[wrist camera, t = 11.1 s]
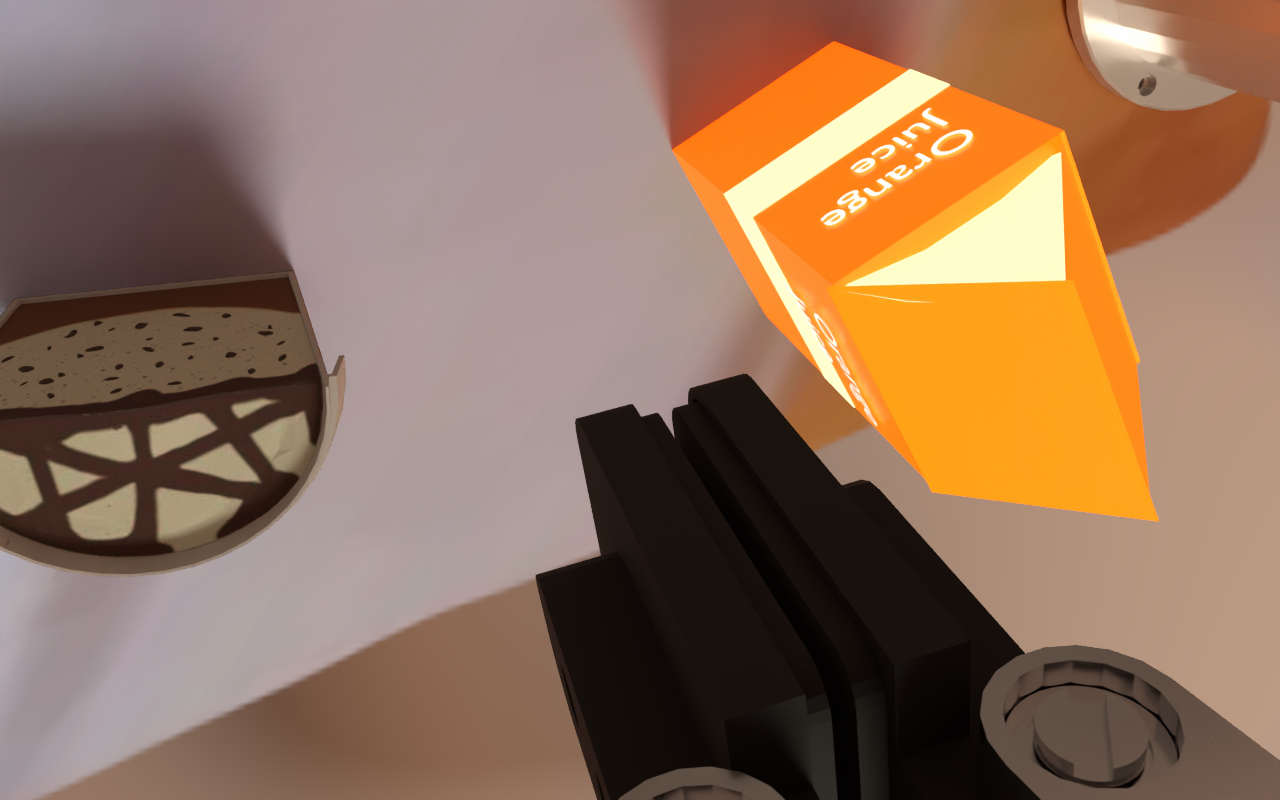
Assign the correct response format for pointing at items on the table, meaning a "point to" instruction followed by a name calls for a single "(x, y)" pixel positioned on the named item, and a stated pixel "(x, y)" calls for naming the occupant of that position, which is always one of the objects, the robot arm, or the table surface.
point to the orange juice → (935, 277)
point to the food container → (158, 421)
